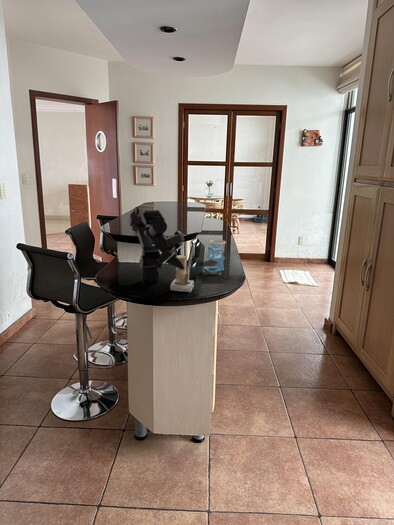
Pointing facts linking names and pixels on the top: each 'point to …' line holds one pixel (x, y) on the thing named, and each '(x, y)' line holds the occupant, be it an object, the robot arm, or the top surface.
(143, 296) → the top surface
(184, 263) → the keyed post
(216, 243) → the dixie cup
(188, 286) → the socket plate
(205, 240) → the top surface
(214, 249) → the chair
